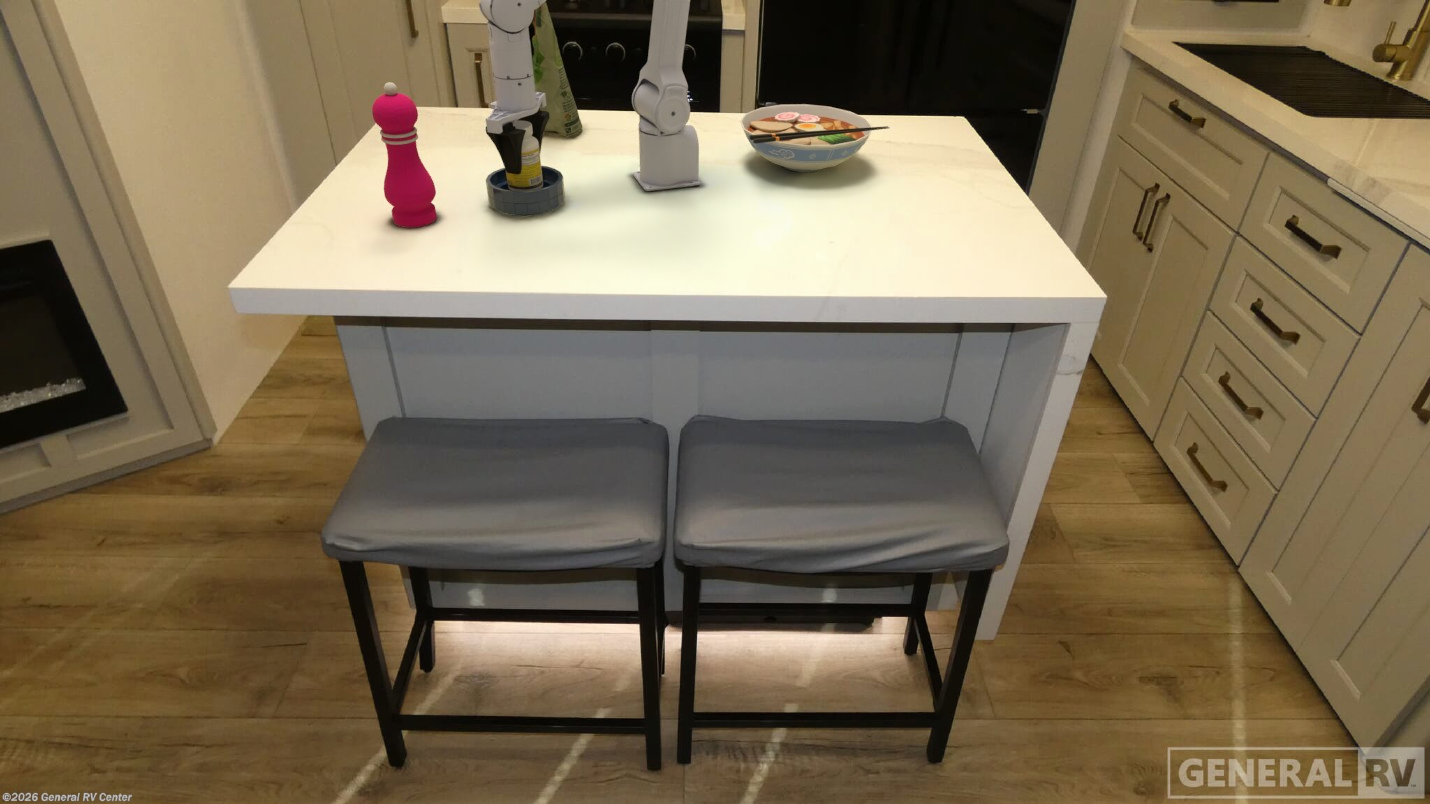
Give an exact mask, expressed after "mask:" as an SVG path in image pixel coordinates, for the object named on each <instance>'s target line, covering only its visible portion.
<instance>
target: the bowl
mask: <svg viewBox="0 0 1430 804" xmlns="http://www.w3.org/2000/svg"><path fill="white" fill-rule="evenodd" d="M541 169H542V178H543V187H542V188H541V189H537V190H530V191H511V190H510V189H509V188H508V183H507V176H506V169H505V167H502V168H499V169H497V170H494V171H492V172H490V173H489V174H488V175H487V177H486V178H485V186H486V194H487V200H488V204H489V206H490V208H491V209H493V210H495V211H496V212H500V213H503V214H507V215H511V216H519V217H527V216H528V217H529V216H537V215H543V214H545V213H548V212H550V211H553V210H555V209H557V208H559V207H560V206H561V205H563V204H564V202H565V199H566V196H565V195H566V193H565V184H564V183H565V182H564V175H563V174H562V172H561V171H560V170H558V169H556V168H553V167H550V166H546V165H541Z"/></svg>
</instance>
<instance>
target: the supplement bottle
mask: <svg viewBox="0 0 1430 804" xmlns="http://www.w3.org/2000/svg"><path fill="white" fill-rule="evenodd" d="M514 126H515V129H523V130H526V132H525V135H524V138H523V143H522V169H521V173H520V174H511V173H507V172H506V176H507V183H508V188H509V189H510V190H511V191H530V190H537V189H541V188H542V187H543V178H542V169H541V166H542V162H541V152H540V151H539V143H538V140H537V139H536V138H535V137H533V136H532V134H533V130H532V124H531V123H530V122H528V121H515V122H513V127H514Z"/></svg>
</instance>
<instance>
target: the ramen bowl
mask: <svg viewBox="0 0 1430 804" xmlns="http://www.w3.org/2000/svg"><path fill="white" fill-rule="evenodd" d="M739 123H740V125H741V127H742V130H743V132H744V134H745V137H746V138H747V140H748V142H749V144H750V145H751V147H752V149H754V151H755V152H756V153H757V154H758V155H759V156H761V157H762V158H764V159H765V160H767V161H769V162H771V163H772V164H775V165H777V166H780V167H784V168H785V169H787V170H788V171H792V172H798V173H814V172H818V171H820V170H822V169H827V168H832V167H836V166H838V165H839V164H842V163H843V162H845V161H847V160H849V159H852V158H853V157H854V156H855V155H856V154H858V152H859V151H860V150H861V148H862V147H863V146H864V145H865V144H866V142H867V140H869V137H870V135H871V134H872V131H879V130H886V129H887V130H888V129H890V127H889V126H888V125H887V126H885V125H884V126H873V125H872V124H871V122H870V121H869V120H868V119H867V118H866V117H864V116H861V115H860V114H857V113H855V112H852V111H850V110H846V109H841V108H836V107H834V106H833V107H832V106H827V105H817V104H806V103H801V104H799V103H798V104H797V103H796V104H793V103H791V104H776V105H770V106H763V107H759V108H757V109H754V110H751V111H749V112H746V113H745V114H744V115H743V116H742V117H741V118H740V120H739Z"/></svg>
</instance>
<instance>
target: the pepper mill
mask: <svg viewBox="0 0 1430 804" xmlns="http://www.w3.org/2000/svg"><path fill="white" fill-rule="evenodd" d="M383 91H384V94H381V95H379V96H378V97H377V98H375V100H374V101H373V104H372V108H371V114H372V118H373V119H372V120H374V123H375V124H376V125H377V126H378V127H379V128H380V131H379V134H380V135H381V138H380V140H381V141H382V143H384V144H385V148H386V152H387V154H386V155H387V166H386V172H385V176H384V181H383V195H384V198H385V200H386V201H387V203H388V204H389V205H391V206H392V209H391V215H392V221H393V223H394V224H395V225H397V226H399V227H403V228H420V227H425V226H428V225H430V224H432V223H434V222H435V221H436V220H437V218H438V215H437V209H436V205H435V204H434V203H432V202H433V201H434V199H435V198H436V195H437V190H436V186H435V182H434V180H433V177H432V176H431V174H430V173H429V171H428V170H427V168H426V167H425V165H424V163H423V161H422V160H421V157H420V154H419V151H418V147H417V141H418V139H419V134H418V128H417V127H416V126H415V124H416V123H417V121H418V118H419V113H418V112H419V111H418V108H417V106H416V104H415V102H414V101H413V99H411V98H410V97H409V96H407V95H406V94H404V93H399V92H398V86H397V85H396V84H395V83H394V82H391V81H388V82H386V83H384V85H383Z"/></svg>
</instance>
